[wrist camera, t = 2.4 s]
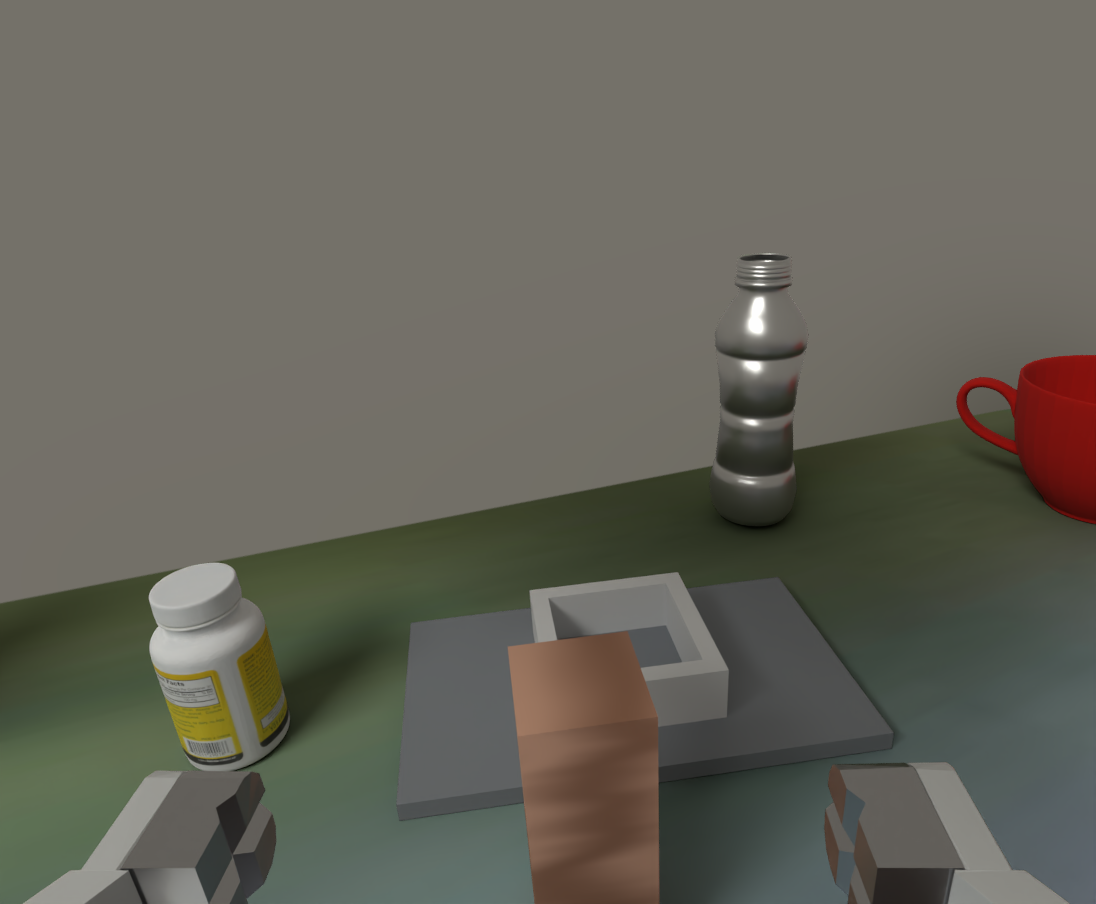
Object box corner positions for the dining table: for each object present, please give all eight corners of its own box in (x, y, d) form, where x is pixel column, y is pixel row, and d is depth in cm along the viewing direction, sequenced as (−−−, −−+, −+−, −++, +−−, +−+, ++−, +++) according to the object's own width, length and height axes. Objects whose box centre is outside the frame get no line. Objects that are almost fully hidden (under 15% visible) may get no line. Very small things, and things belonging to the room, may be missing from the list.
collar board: (399, 820, 35) (386, 755, 33) (413, 635, 47) (404, 582, 46) (891, 748, 37) (901, 683, 35) (777, 589, 50) (781, 537, 48)
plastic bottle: (765, 491, 63) (779, 246, 55) (812, 528, 56) (835, 259, 49) (694, 505, 61) (698, 255, 53) (734, 544, 55) (746, 270, 47)
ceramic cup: (961, 449, 68) (979, 341, 64) (1203, 492, 58) (1243, 368, 54) (924, 506, 58) (943, 385, 55) (1205, 569, 49) (1253, 426, 45)
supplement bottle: (274, 687, 44) (235, 543, 40) (305, 742, 40) (266, 586, 36) (175, 732, 41) (123, 580, 37) (198, 794, 37) (142, 632, 33)
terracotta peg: (543, 983, 28) (517, 736, 23) (531, 876, 32) (507, 646, 27) (659, 964, 28) (658, 717, 23) (633, 860, 32) (627, 631, 27)
